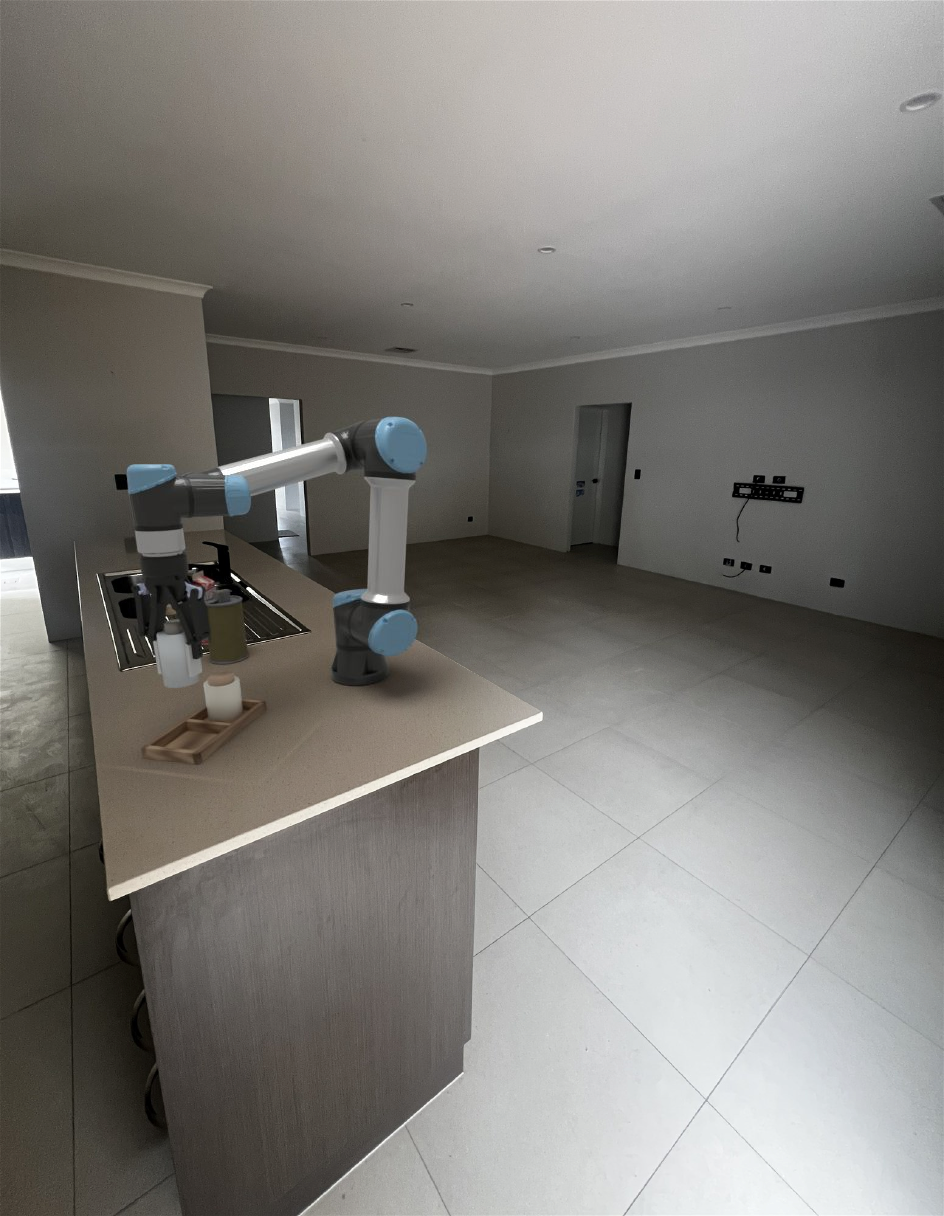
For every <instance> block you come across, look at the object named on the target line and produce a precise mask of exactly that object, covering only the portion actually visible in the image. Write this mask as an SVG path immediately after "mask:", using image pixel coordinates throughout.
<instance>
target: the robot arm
mask: <svg viewBox="0 0 944 1216" xmlns="http://www.w3.org/2000/svg"><path fill="white" fill-rule="evenodd" d="M427 454H428V445H427V441H426V438H425V435H424V433H423V430H421V429H420V427H419V426H418V424H416V423H415V422H414V421H413V420H410V419H408V418H406V417H401V416H400V417H399V416H387V417H381V418H371V419H364V420H362V421H361V420H360V421H358V422H356V423H353V424H351V425H349V426H345V427H343V428H339V429H337V430H334V431H331V432H330V431H329V432H327V433H325V434H324V436H323V438H322V439H318V440H314V441H312V442H307V443H303V444H300V445H297V446H292V447H288V448H284V449H281V450H278V451H273V452H270V453H266V454H262V455H257V456H254V457H251V458H247V459H242V460H238V461H236V462H231V463H228V464H223V465H220V466H217V467H215V468H209V469H206V470H202V471H201V470H200V471H198V472H197V471H196V472H194V471H192V472H187V473H184V474H183V475H181V474H178V473H177V472H176V468H175V466H174V465H172V464H168V463H166V464H165V463H163V464H162V463H161V464H160V463H159V464H156V463H155V464H154V463H153V464H150V463H149V464H148V463H147V464H144V463H143V464H140V463H139V464H138V463H137V464H135V463H134V464H130V465H129V466H128V467H127V469H126V478H127V480H126V482H127V493H128V498H129V503H130V509H131V510H130V511H131V514H132V520H133V527H134V534H135V542H136V547H137V552H138V553H139V554H141V555H140V556H139V557H138V560H139V565H140V572H141V576H143V577H145V578H144V581H143V582H141V583H137V584H135V585H134V584H133V585H131V586H130V589H131V592H132V595H133V597H134V600H135V601H134V603H135V609H136V620H137V630H138V635H139V636H140V637H142V638H143V637H144V638H145V637H146V638H147V639H148V640H149V641H150V647H151V653H152V656H153V657H155V661H156V662H155V663H156V668H157V674H158V675H163V674H162V668H161V661H160V655H159V648H158V642H157V636H156V634H157V633H158V632H160V631H162V630H164V624H163V623H164V622H165V621H166V615H167V607H168V605H170V607H171V609H172V610H174V611H175V613H176V616H177V618H178V619H179V621H180V623H181V625H182V628H183V630H184V632H185V635H186V637H187V639H188V642H186V644H185V650H186V657H187V664H188V671H189V677H194V676H196V675H197V674H201V673H202V672H203V666H202V665H203V664H202V659H201V658H203V655H204V651H203V645H202V643H201V642H202V640H204V639H206V638H208V637H210V636H211V633H210V628H209V623H208V617H207V612H206V607H205V601H204V595H205V588H204V587H203V586H200V587H196V586H193V585H191V584H190V582H191V581H190V580H189V578H188V573H189V569H190V568H189V563H188V562H189V561H188V555H187V553H186V552H183V551H185V549H186V541H185V533H184V526H183V519H191V518H206V517H207V518H209V517H211V518H212V517H234V516H242V515H243V516H244V515H246V514H248V513H249V511H250V509H251V507H252V506H251V505H252V497H253V496H257V495H259V494H264V493H267V492H270V491H273V490H278V489H281V488H284V487H287V486H290V485H293V484H294V485H295V484H298V483H300V482H303V481H308V480H311V479H314V478H317V477H320V476H324V475H328V474H331V473H334V472H335V473H336V474H337V475H343V474H347V473H349V472H357V471H358V472H359V471H360V472H361V471H363V473H364V474H363V479H364V480H365V481H366V482H367V484H368V485H369V486H370V495H369V496H370V497H369V499H370V500H369V525H368V526H369V527H368V528H369V529H368V532H369V533H368V557H367V559H368V560H367V561H368V565H367V588H359V589H351V590H345V591H340V592H337V593H336V594H334V595H333V597H332V610H333V621H334V637H335V652H334V656H333V660H332V663H331V667H330V675H331V679H332V681H333V682H335V683H337V684H341V685H344V686H345V685H346V686H366V685H371V684H374V683H378V682H380V681H383V680H384V679H386V678H387V677H388V675H389V674H390V672H389V671H390V668H389V667H390V666H389V662H388V660H387V658H386V657H396V656H399V655H401V654H403V653H404V652H406V651H407V650H408V648H409V647H410V646H412V644H413V643H414V642H415V639H416V637H417V634H418V623H417V619H416V618H415V616H414V615H413V613H412V612H410V607H411V606H410V603H411V600H410V596H409V595H408V594H407V593H406V592H405V579H406V578H405V576H406V575H405V573H406V570H405V569H406V555H407V554H406V553H407V552H406V551H407V535H408V533H407V531H408V530H407V529H408V512H409V511H408V509H409V490H410V488H411V487H412V486H414V485H415V483H416V482H417V471H418V470H419V469H420V468H421V467H422V465H423V464H425V461H426V459H427ZM187 593H188V595H187ZM188 597H190V598H188Z"/></svg>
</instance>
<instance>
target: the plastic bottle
mask: <svg viewBox="0 0 944 1216" xmlns="http://www.w3.org/2000/svg"><path fill="white" fill-rule="evenodd" d="M163 624H164V630H162V631H160V632H158V633H157V634H156V636H157V642H158V648H159V655H160V661H161V668H162V674H161V675H162V681H163V685H164V687H166V688H169V689H170V688H171V689H181V688H185V687H189V686H190V687H191V686H192V685H195V684H196V683H198V682H199V681H200V675H199V674H200V673H199V674H197V675H196V676H194V677H189V671H188V664H187V657H186V650H185V644H186V642H188V639H187V637H186V635H185V632H184V630H183V628H182V625H181V623H180V621H179V618H178V619H177V618H176V619H170V620H165V622H164V623H163Z"/></svg>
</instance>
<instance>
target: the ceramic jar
mask: <svg viewBox="0 0 944 1216" xmlns="http://www.w3.org/2000/svg"><path fill="white" fill-rule="evenodd" d="M240 682H241V681H240V678H239V677H238V676H236V675H235V673H234V672H232V671H220V672H219V671H218V672H215V673H212V674H210V675H209V676H207V679H206V680H205V681H204V682H203V692H204V699H205V705H206V706H207V713H208V720H209V721H214V722H223V723H233V722H235V721H236V720H237V719H238V718H240V717H241V716H242V715H244V713H243V705H242V699H243V697H242V691H241V690H242V689H241V683H240Z"/></svg>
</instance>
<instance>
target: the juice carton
mask: <svg viewBox="0 0 944 1216" xmlns="http://www.w3.org/2000/svg"><path fill="white" fill-rule="evenodd" d="M190 584H191V585H193V586H196V587H200V586H203V587H204V588H205V595H204V600H205V599H208V598H211V597H212V596H213V591H216V581H215V580H213V579H212V578H209V577H208V576H205V575H204V570H201V571H198V572H196V573H194V574H192V580H191V581H190ZM187 595H188V593H187ZM188 598H190V597H188ZM201 643H202V646H203V645H204V646H205V645H207V646H208V641H206V640H205V639H204V640H202V642H201Z"/></svg>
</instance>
